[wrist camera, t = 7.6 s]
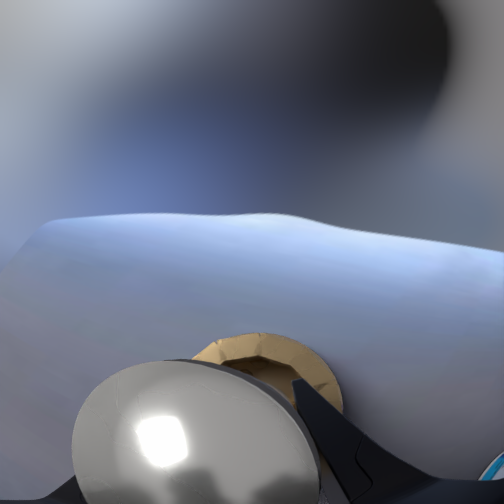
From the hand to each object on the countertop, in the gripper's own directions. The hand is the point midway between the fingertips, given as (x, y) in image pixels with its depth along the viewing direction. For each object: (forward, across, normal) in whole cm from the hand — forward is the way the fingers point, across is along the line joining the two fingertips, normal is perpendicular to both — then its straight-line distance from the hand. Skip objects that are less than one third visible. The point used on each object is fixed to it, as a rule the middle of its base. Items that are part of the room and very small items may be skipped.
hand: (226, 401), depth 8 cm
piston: (+4, 0, +6) cm, 7 cm away
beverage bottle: (-5, -18, +18) cm, 26 cm away
